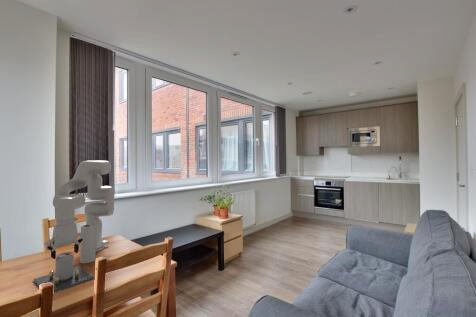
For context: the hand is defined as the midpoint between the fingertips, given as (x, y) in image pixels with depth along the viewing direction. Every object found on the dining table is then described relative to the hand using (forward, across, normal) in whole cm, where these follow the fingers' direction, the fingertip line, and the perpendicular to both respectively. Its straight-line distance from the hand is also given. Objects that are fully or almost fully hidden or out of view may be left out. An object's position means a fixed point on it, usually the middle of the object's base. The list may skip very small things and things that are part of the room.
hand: (65, 255), depth 125 cm
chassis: (+12, +1, +1) cm, 12 cm away
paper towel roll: (+13, -15, -14) cm, 25 cm away
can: (+11, 0, +1) cm, 11 cm away
